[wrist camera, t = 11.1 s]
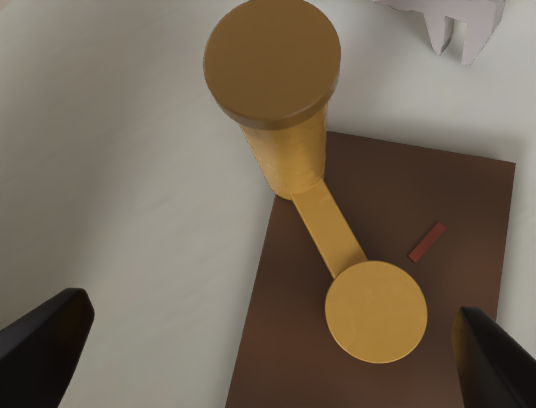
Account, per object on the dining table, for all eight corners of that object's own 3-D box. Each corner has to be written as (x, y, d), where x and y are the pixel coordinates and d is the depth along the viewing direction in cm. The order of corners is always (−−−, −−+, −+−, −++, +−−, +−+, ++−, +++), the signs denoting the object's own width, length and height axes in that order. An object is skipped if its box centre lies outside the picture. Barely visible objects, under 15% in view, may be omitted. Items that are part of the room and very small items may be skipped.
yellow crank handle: (433, 329, 19) (582, 384, 8) (351, 371, 19) (393, 479, 8) (314, 124, 22) (309, -35, 11) (244, 161, 22) (171, 39, 11)
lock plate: (460, 532, 18) (469, 547, 17) (217, 452, 20) (211, 462, 19) (507, 168, 22) (517, 161, 20) (292, 131, 24) (291, 123, 22)
